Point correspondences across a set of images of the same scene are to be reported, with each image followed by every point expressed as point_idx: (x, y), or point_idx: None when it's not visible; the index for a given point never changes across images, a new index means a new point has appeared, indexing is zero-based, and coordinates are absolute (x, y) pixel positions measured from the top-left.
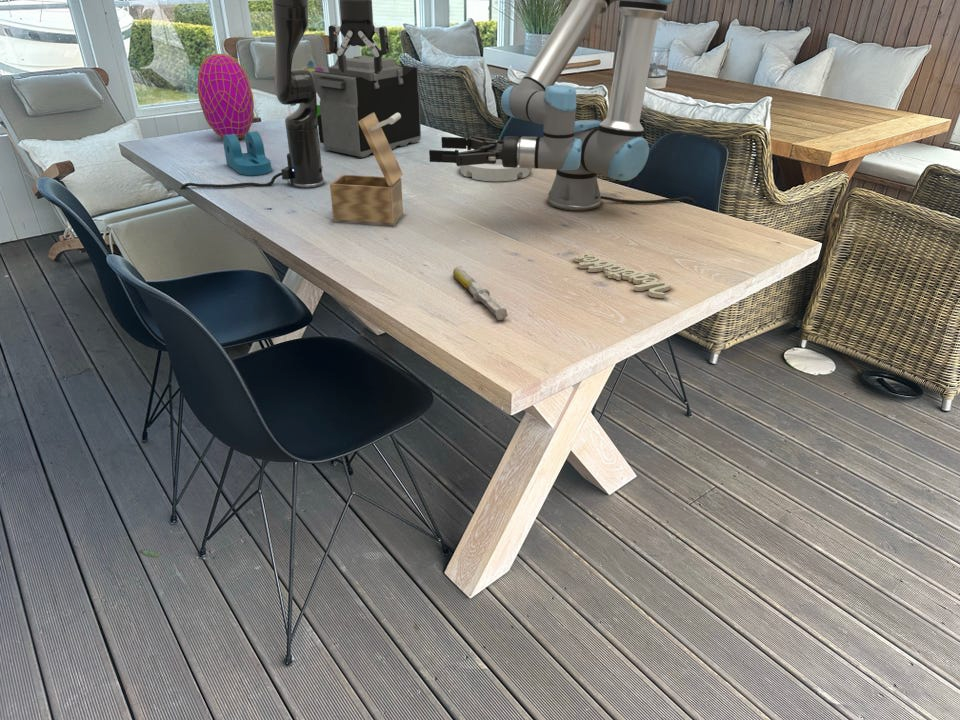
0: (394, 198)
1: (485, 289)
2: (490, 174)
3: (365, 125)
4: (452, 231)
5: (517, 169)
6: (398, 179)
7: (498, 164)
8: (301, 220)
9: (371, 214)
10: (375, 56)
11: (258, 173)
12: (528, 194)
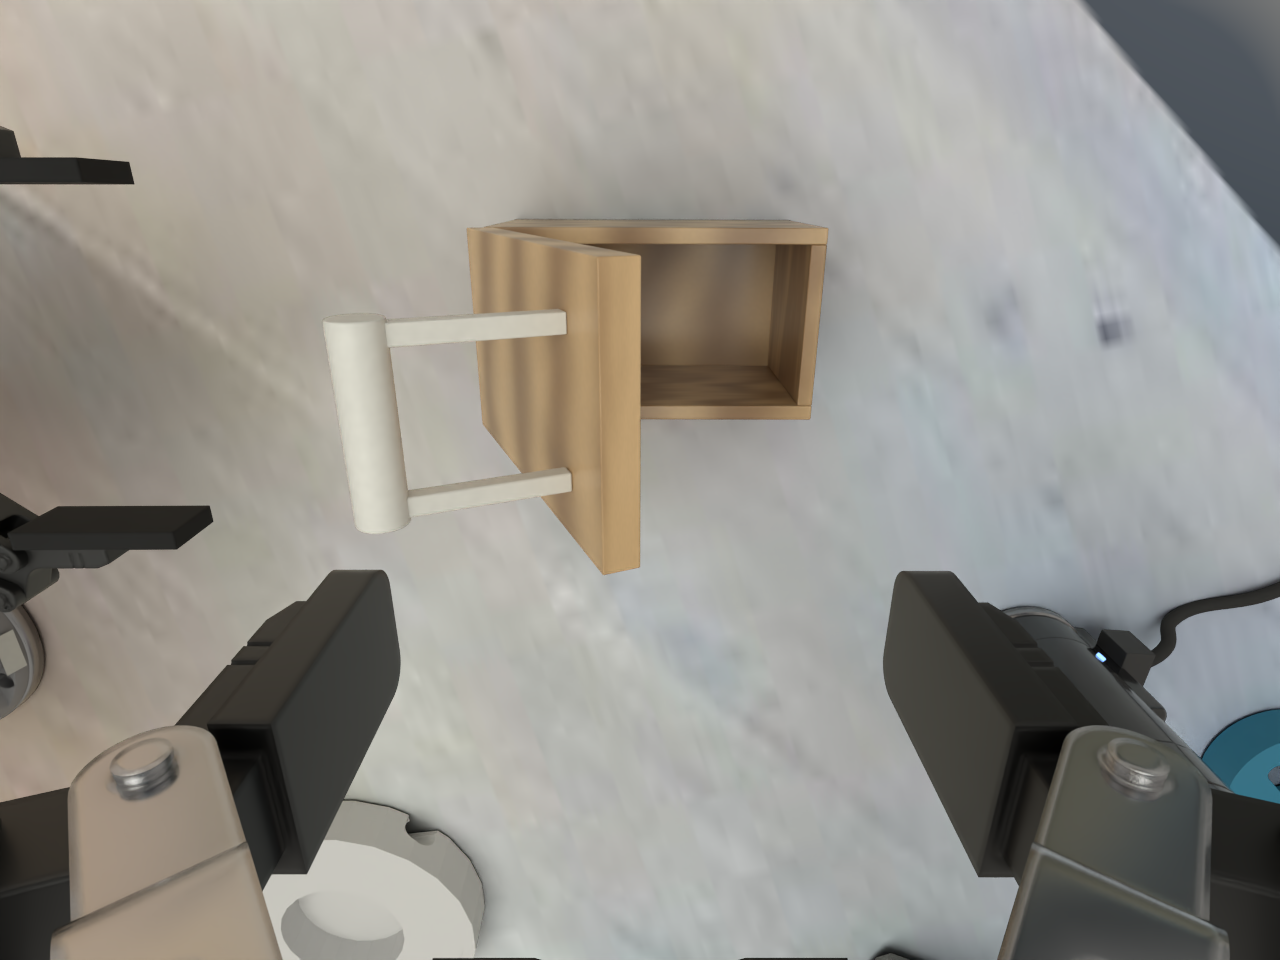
0: None
1: None
2: None
3: (577, 260)
4: (252, 211)
5: None
6: None
7: (357, 947)
8: (934, 213)
9: (609, 221)
10: (208, 737)
11: (1245, 723)
12: (145, 695)
